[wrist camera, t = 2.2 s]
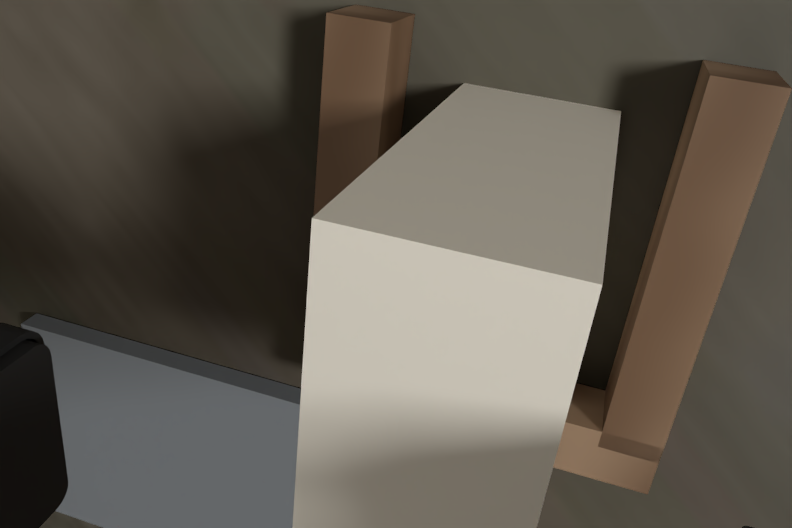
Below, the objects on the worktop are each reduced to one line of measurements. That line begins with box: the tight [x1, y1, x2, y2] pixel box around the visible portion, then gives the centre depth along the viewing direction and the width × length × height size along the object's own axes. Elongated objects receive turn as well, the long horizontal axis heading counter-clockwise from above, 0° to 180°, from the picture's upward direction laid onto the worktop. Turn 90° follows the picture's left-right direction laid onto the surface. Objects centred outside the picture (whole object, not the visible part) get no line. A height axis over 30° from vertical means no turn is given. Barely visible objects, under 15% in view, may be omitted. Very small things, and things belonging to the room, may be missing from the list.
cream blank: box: [292, 83, 621, 528], centre depth 16 cm, size 4×7×10 cm, turn 174°
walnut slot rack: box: [314, 5, 792, 494], centre depth 19 cm, size 10×11×2 cm
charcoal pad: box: [21, 314, 301, 528], centre depth 27 cm, size 13×9×1 cm
